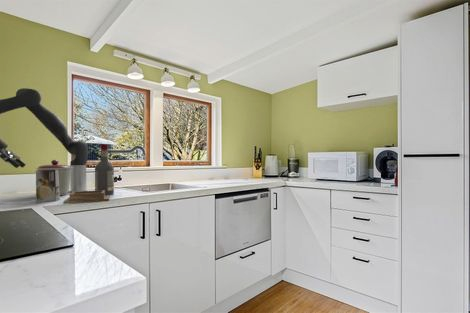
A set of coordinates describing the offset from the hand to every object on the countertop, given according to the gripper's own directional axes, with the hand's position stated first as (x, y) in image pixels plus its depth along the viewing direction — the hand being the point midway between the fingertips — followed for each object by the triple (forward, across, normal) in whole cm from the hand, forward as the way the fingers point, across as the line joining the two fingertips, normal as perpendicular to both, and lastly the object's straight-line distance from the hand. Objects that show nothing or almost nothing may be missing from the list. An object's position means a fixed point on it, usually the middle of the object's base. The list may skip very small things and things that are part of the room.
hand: (21, 166), depth 140 cm
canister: (+20, +22, +6) cm, 30 cm away
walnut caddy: (+34, -6, -9) cm, 36 cm away
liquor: (+39, +12, -14) cm, 43 cm away
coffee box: (+21, 0, +5) cm, 21 cm away
